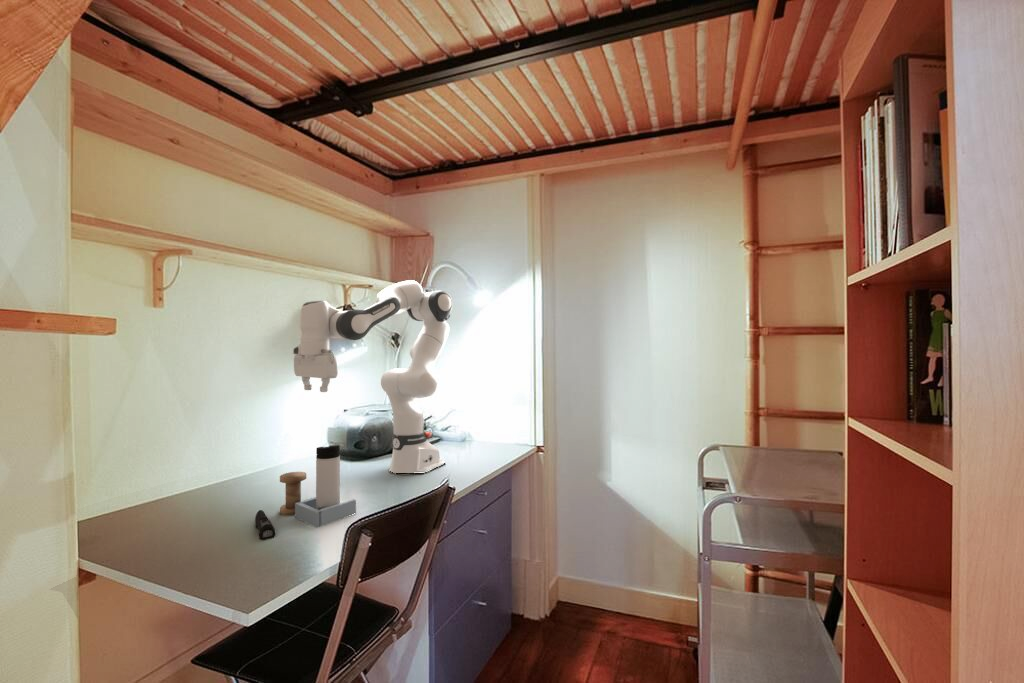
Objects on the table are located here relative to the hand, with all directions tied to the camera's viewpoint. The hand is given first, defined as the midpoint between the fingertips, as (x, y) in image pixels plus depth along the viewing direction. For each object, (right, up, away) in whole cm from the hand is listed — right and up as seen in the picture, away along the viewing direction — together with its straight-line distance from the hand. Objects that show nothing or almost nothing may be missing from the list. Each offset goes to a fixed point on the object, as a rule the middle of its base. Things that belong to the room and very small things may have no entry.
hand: (315, 391), depth 148 cm
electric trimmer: (-1, -34, -30) cm, 45 cm away
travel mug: (+13, -33, -21) cm, 41 cm away
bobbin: (+1, -33, -18) cm, 38 cm away
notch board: (+12, -33, -21) cm, 41 cm away
